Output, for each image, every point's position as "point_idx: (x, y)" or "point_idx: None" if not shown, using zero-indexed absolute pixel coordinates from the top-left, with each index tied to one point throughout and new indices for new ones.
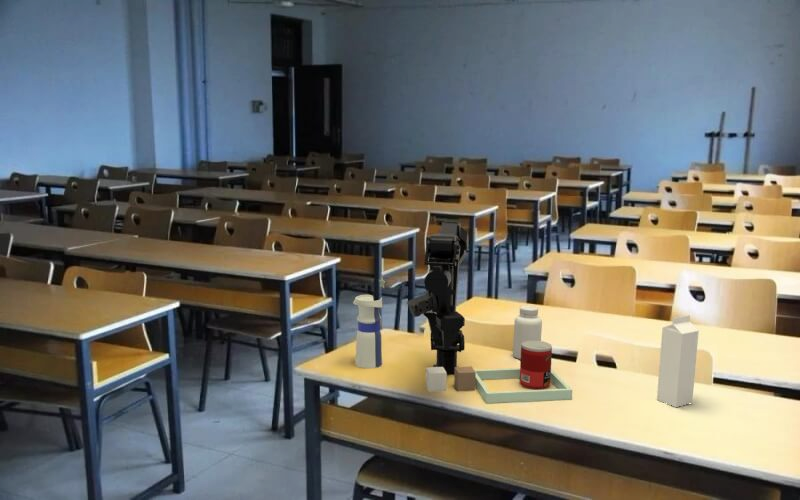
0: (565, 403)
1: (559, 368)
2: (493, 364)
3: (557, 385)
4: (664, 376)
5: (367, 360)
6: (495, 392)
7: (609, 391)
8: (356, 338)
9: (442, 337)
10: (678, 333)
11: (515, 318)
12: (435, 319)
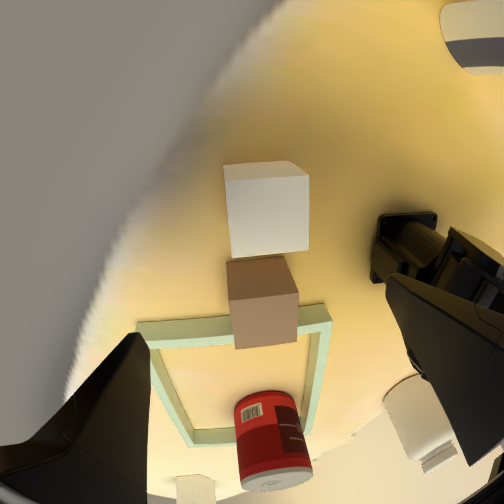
0: (168, 425)
1: (335, 426)
2: (396, 348)
3: None
4: (193, 502)
5: (456, 16)
6: None
7: (226, 458)
8: None
9: (92, 399)
10: None
11: (449, 432)
12: (477, 393)
